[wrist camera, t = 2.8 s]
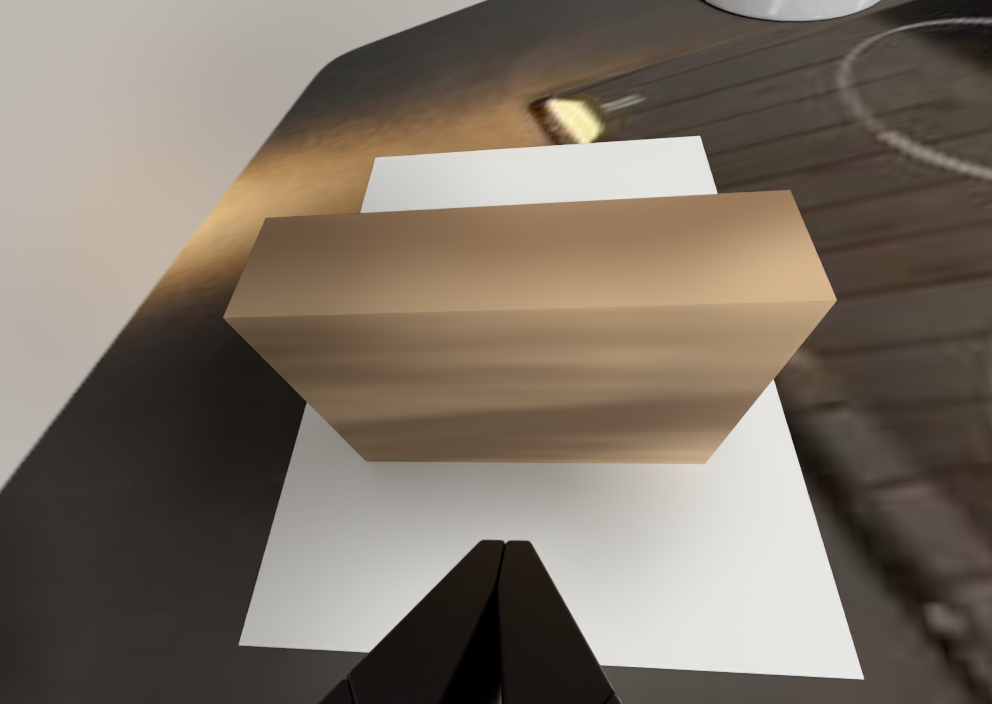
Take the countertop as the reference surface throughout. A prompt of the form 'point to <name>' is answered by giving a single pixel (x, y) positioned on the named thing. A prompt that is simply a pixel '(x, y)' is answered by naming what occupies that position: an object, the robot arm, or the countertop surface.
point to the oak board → (535, 324)
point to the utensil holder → (793, 8)
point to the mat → (563, 491)
